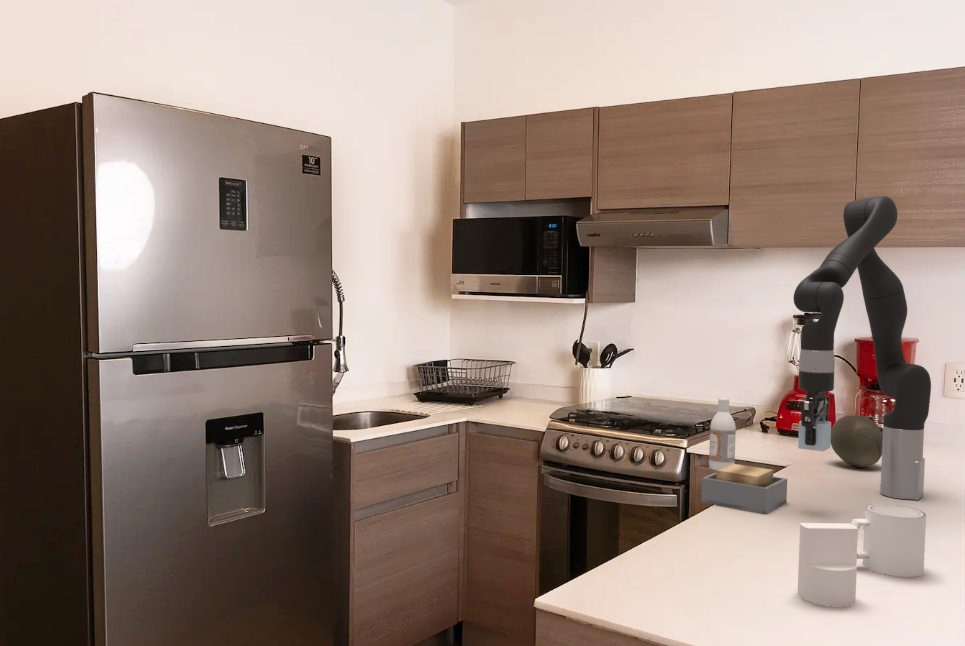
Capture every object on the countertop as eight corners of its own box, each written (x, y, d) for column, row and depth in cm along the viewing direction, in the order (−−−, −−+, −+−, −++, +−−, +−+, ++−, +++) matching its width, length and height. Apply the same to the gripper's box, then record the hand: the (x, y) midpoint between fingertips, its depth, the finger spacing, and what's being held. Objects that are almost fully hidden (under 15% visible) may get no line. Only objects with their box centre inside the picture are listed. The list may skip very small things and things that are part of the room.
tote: (786, 502, 203) (787, 478, 203) (766, 514, 193) (766, 488, 192) (724, 491, 213) (724, 468, 213) (701, 502, 202) (702, 478, 202)
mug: (864, 578, 151) (866, 519, 151) (835, 559, 161) (837, 504, 161) (935, 576, 153) (938, 518, 152) (902, 558, 163) (904, 503, 162)
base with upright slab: (840, 587, 146) (843, 518, 146) (865, 607, 137) (868, 534, 137) (788, 586, 146) (791, 518, 145) (810, 606, 137) (813, 533, 136)
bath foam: (704, 467, 242) (706, 397, 241) (725, 465, 244) (727, 396, 243) (717, 472, 235) (719, 400, 234) (739, 471, 237) (741, 400, 236)
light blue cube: (830, 447, 195) (831, 421, 194) (823, 451, 190) (823, 424, 190) (805, 444, 198) (806, 419, 198) (798, 448, 194) (798, 422, 193)
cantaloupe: (872, 462, 252) (874, 412, 251) (890, 473, 238) (892, 420, 237) (823, 461, 253) (825, 411, 253) (838, 471, 239) (840, 418, 239)
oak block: (772, 498, 203) (773, 469, 203) (756, 506, 196) (758, 476, 195) (732, 491, 210) (733, 463, 209) (715, 499, 202) (716, 470, 202)
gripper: (824, 373, 185) (822, 450, 186) (842, 368, 197) (840, 440, 197) (789, 370, 190) (787, 445, 191) (809, 366, 201) (807, 436, 202)
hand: (814, 442), depth 194 cm, fingers closed on light blue cube, 5 cm apart
